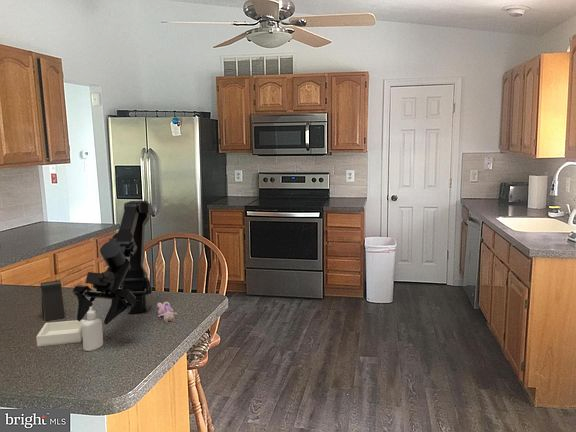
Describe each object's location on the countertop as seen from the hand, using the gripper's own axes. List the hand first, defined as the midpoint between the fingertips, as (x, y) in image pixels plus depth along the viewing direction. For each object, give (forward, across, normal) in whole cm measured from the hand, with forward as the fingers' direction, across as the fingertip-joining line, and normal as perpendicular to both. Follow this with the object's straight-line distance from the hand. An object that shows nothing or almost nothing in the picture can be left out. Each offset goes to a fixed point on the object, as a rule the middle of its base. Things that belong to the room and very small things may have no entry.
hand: (91, 322), depth 137 cm
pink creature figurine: (-15, +5, +26) cm, 31 cm away
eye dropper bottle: (+5, 0, +6) cm, 8 cm away
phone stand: (-8, -32, +19) cm, 38 cm away
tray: (+2, -14, +8) cm, 17 cm away
